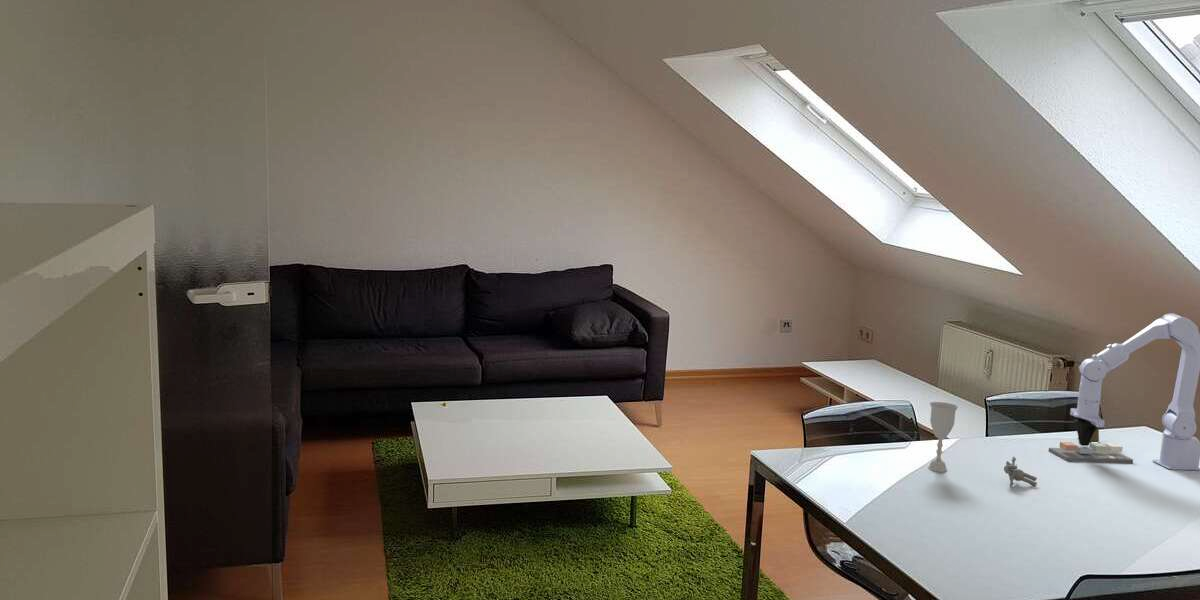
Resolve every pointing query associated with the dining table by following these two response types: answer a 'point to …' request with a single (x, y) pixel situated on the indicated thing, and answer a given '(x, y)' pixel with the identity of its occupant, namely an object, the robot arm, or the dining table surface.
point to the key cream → (1113, 447)
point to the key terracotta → (1068, 446)
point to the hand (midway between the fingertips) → (1083, 444)
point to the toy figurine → (1018, 474)
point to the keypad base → (1091, 456)
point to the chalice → (941, 429)
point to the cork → (1096, 432)
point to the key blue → (1084, 449)
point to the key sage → (1098, 447)
